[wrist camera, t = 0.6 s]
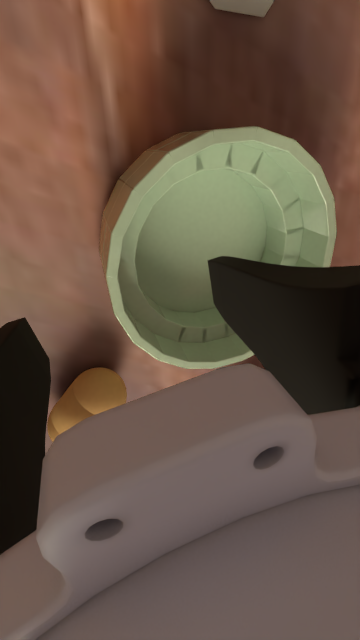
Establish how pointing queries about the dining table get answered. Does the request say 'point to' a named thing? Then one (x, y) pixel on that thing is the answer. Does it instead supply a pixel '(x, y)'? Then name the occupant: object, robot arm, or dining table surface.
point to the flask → (244, 6)
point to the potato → (86, 399)
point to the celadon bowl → (208, 234)
